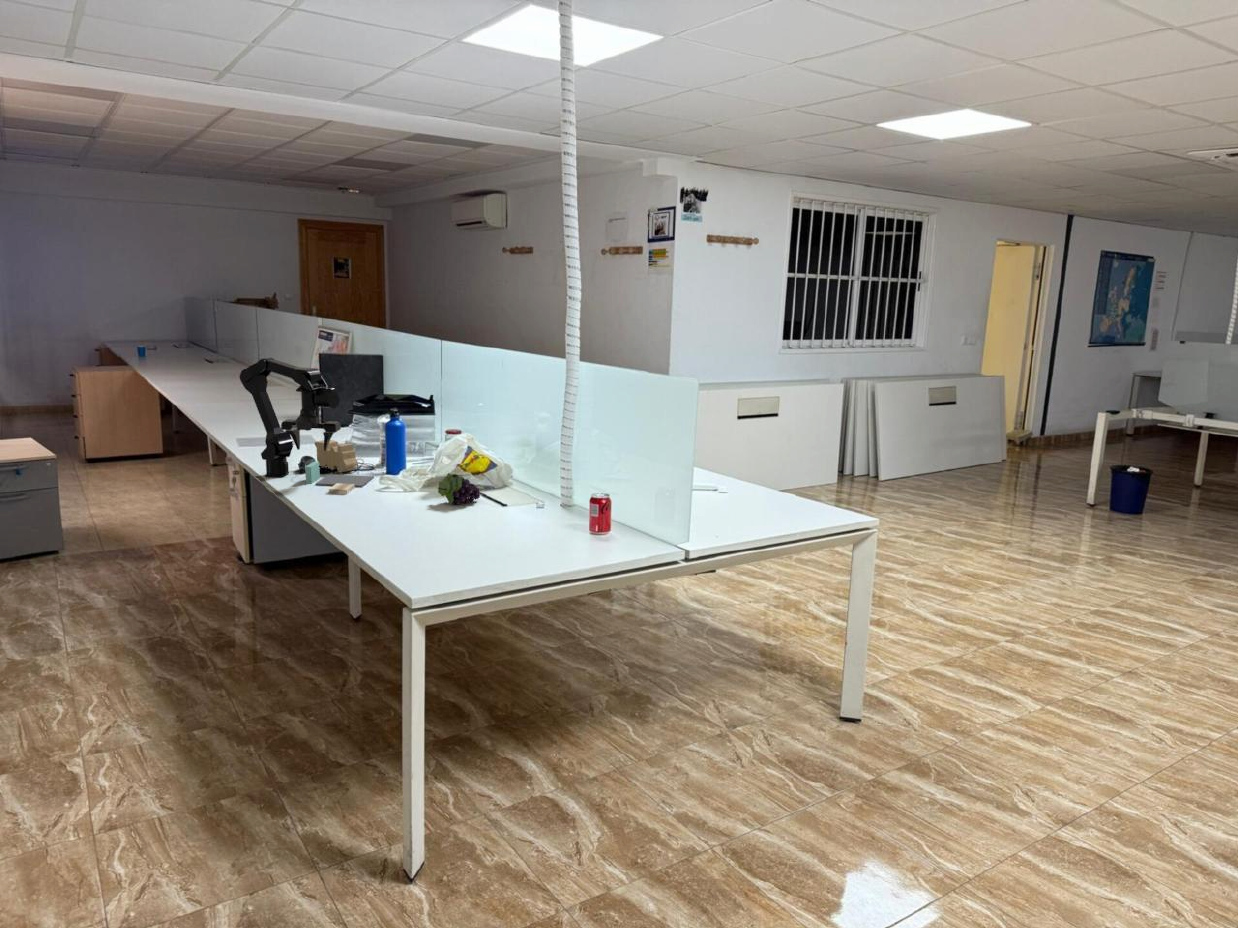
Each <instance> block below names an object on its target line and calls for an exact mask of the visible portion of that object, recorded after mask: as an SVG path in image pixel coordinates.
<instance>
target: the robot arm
mask: <svg viewBox="0 0 1238 928" xmlns="http://www.w3.org/2000/svg"><path fill="white" fill-rule="evenodd" d="M272 373H273V374H277V375H280V376H284V377H285V378H286V377H287V378H289V379H292V380H293V382H294V383H296V384H298V385H299V386H298V388H296V389H295V391H296V392H299V393H300V397H301V399H300V401H301V402H300V403H301V409H300V410H299V411H300V412H299V415H298V416H297V418H296V419H292V418H291V419H289V418H287V419H285V420H283V421H282V422H281V424H280V423H279V419H278V418H277V414H276V411H275V410H274V407H273V404H272V402H271V399H270V397H269V394H268V392H267V391H268V390H267V387H268V382H269V381H268V377H269V376H270V375H271V374H272ZM238 377H239V380H240V382H241V384H242V387H243V388H244V389H245V390H246V391H247V392H249V394H251V396H252V399H253V401H254V404H255V406H256V409H257V411H258V413H259V417H260V419H261V421H262V424H263V427H264V430H265V432H266V436H265V440H264V441H265V448H264V449H263V450H262V452H261V453H260V456H261V458H262V460H264V461H265V470H266V471H265V474H264V477H271V478H272V477H274V478H284V477H285V476H287V475H288V474H290V472H289V461H287V460H288V459H287V458H290V456H291V453H292V450H293V448H294V446H295V447H296V450H298V451H299V450H300V449H301V437H300V436H301V434H300V431H306V432H308V431H311V430H312V429H320V430H322V429H323V430H324V432H322V433H323V440H324V451H326V449H327V447H328V444H329V441H330V440H331V439H332V437H333V435H334V434H335V433H337V432H338V431H340V430H341V427H342V426H341V423H340V422H339V421H333V420H332V421H330V420H329V421H327V422H324V423H322V419H320V417H321V415H320V411H321V408H327V409H336V408H337V407H339V404H340V400H341V398H340V396H339V393H338V392H337V391H336V388H334V387H329V386H328V384H327V382H326V381H325V379H324V378H323V375H322V374H321V371H320V370H319V369H318V368H316V367H315V368H314V367H301V366H296V365H294V364H290V363H287V362H284V361H281V360H277V359H275V358H272V357H266V358H265V357H264V358H261V359H259V360H258V361H257V362H255V363H253V364H252V365H249V366H247V367H246V368H243V369H241V371H240V373H239V376H238ZM293 442H294V443H293ZM294 444H295V445H294Z"/></svg>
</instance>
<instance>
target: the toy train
mask: <svg viewBox="0 0 1238 928" xmlns="http://www.w3.org/2000/svg"><path fill="white" fill-rule="evenodd" d="M314 446H315V447H316V462H319V466H325V467H326V466H327V467H328V468H327V469H329V468H330V469H331V470H330V471H333V470H337V472H338V473H345V472H350V471H354V469H355V467H356V466H359V461H358V460H357V458H356V451H355V450H354V444H353V443H347V444H346V443H345V444H341V445H339V442H338V441H337V440H331V439H330V441H329V444H328V447H327V449H326V451H324V439H323V440H317V441H315V442H314Z"/></svg>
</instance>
